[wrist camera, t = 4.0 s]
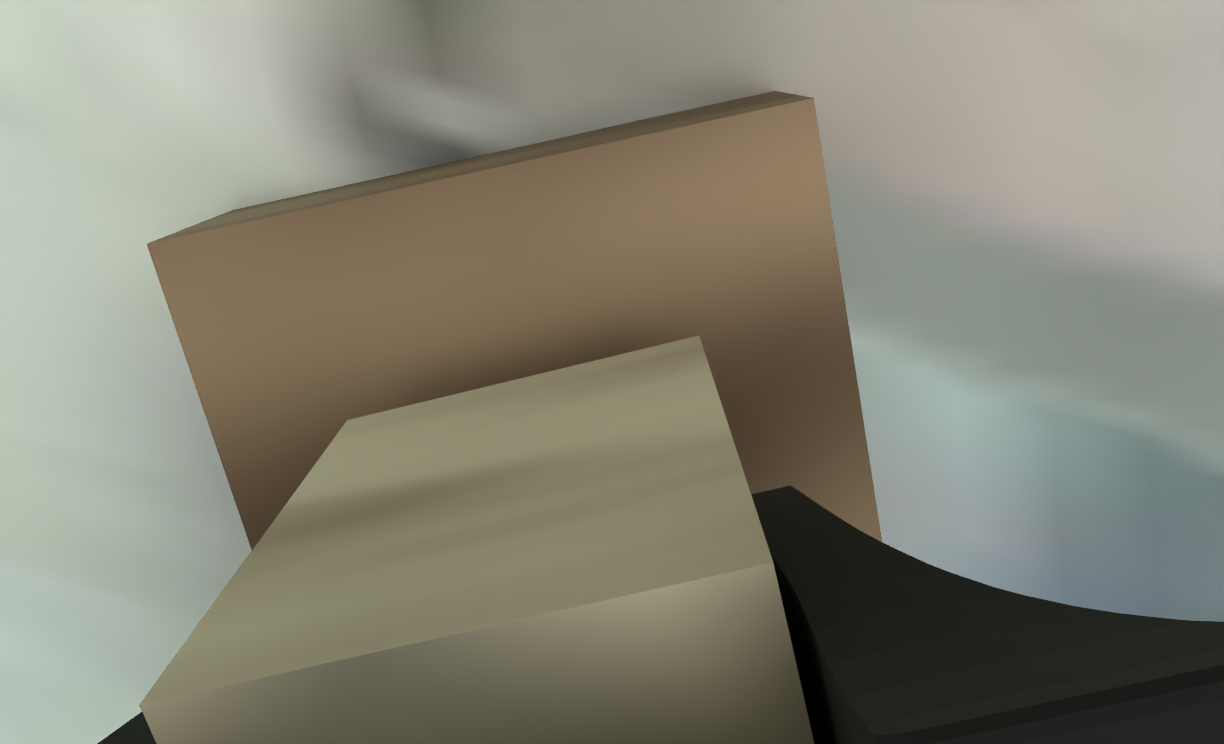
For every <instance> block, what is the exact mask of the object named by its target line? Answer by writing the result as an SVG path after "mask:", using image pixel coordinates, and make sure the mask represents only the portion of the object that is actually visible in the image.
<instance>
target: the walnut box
mask: <svg viewBox="0 0 1224 744" xmlns="http://www.w3.org/2000/svg"><path fill="white" fill-rule="evenodd" d="M147 246H148V249H149V252H150V255H151V258H152V261H153V264H154V266H155V269H156V272H157V275H158V278H159V281H160V284H161V287H162V290H163V293H164V296H165V298H166V301H167V304H168V307H169V310H170V313H171V316H172V319H173V322H174V325H175V328H176V331H177V333H178V336H179V339H180V342H181V345H182V348H183V351H184V354H185V357H186V360H187V363H188V365H189V368H190V371H191V374H192V377H193V380H194V383H195V386H196V389H197V392H198V395H199V397H200V400H201V403H202V406H203V409H204V412H205V415H206V418H207V421H208V424H209V427H210V429H211V432H212V435H213V438H214V441H215V444H216V447H217V450H218V453H219V456H220V459H221V461H222V464H223V467H224V470H225V473H226V476H227V479H228V482H229V485H230V488H231V491H232V493H233V496H234V499H235V502H236V505H237V508H238V511H239V514H240V517H241V520H242V523H243V525H244V528H245V531H246V534H247V537H248V540H249V543H250V546H251V549H252V550H253V549H254V547H255V546H256V545H257V543H258V542H259V540H260V539H261V538H262V536H263V535H264V534H265V532H266V531H267V529H268V528H269V527H270V525H271V524H272V523H273V521H274V520H275V518H276V517H277V516H278V514H279V513H280V512H281V510H282V509H283V508H284V506H285V505H286V503H287V502H288V501H289V499H290V498H291V497H292V495H293V494H294V492H295V491H296V490H297V488H298V487H299V486H300V484H301V483H302V481H303V480H304V479H305V477H306V476H307V475H308V473H309V472H310V470H311V469H312V468H313V466H314V465H315V464H316V462H317V461H318V460H319V458H320V457H321V455H322V454H323V453H324V451H325V450H326V449H327V447H328V446H329V444H330V443H331V442H332V440H333V439H334V438H335V436H336V435H337V433H338V432H339V431H340V429H341V428H342V427H343V425H344V424H345V422H346V421H347V420H350V419H354V418H358V417H362V416H367V415H371V414H375V413H379V412H383V411H387V410H392V409H396V408H400V407H404V406H408V405H412V404H416V403H421V402H425V401H429V400H433V399H437V398H441V397H445V396H450V395H454V394H458V393H462V392H466V391H470V390H475V389H479V388H483V387H487V386H491V385H495V384H499V383H504V382H508V381H512V380H516V379H520V378H524V377H529V376H533V375H537V374H541V373H545V372H549V371H553V370H558V369H562V368H566V367H570V366H574V365H578V364H583V363H587V362H591V361H595V360H599V359H603V358H607V357H612V356H616V355H620V354H624V353H628V352H632V351H637V350H641V349H645V348H649V347H653V346H657V345H661V344H666V343H670V342H674V341H678V340H682V339H686V338H690V337H695V336H700V339H701V342H702V345H703V349H704V352H705V355H706V358H707V361H708V364H709V367H710V370H711V373H712V376H713V379H714V382H715V385H716V388H717V391H718V395H719V398H720V401H721V404H722V407H723V410H724V413H725V416H726V419H727V422H728V425H729V428H730V431H731V434H732V437H733V441H734V444H735V447H736V450H737V453H738V456H739V459H740V462H741V465H742V468H743V471H744V474H745V477H746V480H747V483H748V486H749V490H750V493H751V494H755V493H759V492H764V491H768V490H772V489H777V488H781V487H785V486H790V485H791V486H792V487H794V488H795V489H797V490H798V491H800V492H801V493H803V494H805V495H806V496H808V497H809V498H811V499H812V500H813V501H815V502H816V503H818V504H819V505H821V506H822V507H824V508H825V509H827V510H828V511H830V512H831V513H833V514H834V515H836V516H837V517H839V518H841V519H842V520H844V521H845V522H847V523H849V524H850V525H852V526H853V527H855V528H857V529H859V530H860V531H862V532H864V533H866V534H867V535H869V536H871V537H873V538H875V539H877V540H879V541H881V542H882V540H881V533H880V527H879V520H878V514H877V507H876V501H875V494H874V488H873V481H872V475H871V468H870V462H869V455H868V449H867V442H866V436H865V429H864V423H863V416H862V410H861V403H860V397H859V390H858V384H857V377H856V371H855V364H854V358H853V352H852V345H851V339H850V332H849V326H848V319H847V313H846V306H845V300H844V293H843V287H842V280H841V274H840V267H839V261H838V254H837V248H836V241H835V236H834V228H833V222H832V215H831V209H830V202H829V196H828V189H827V183H826V176H825V170H824V163H823V157H822V150H821V144H820V137H819V131H818V124H817V118H816V111H815V105H814V98H811V97H805V96H799V95H794V94H788V93H782V92H777V91H773V92H769V93H764V94H760V95H755V96H751V97H746V98H742V99H737V100H732V101H728V102H723V103H719V104H714V105H710V106H705V107H701V108H696V109H691V110H687V111H682V112H678V113H673V114H669V115H664V116H660V117H655V118H651V119H646V120H641V121H637V122H632V123H628V124H623V125H619V126H614V127H610V128H605V129H601V130H596V131H591V132H587V133H582V134H578V135H573V136H569V137H564V138H560V139H555V140H550V141H546V142H541V143H537V144H532V145H528V146H523V147H519V148H514V149H510V150H505V151H500V152H496V153H491V154H487V155H482V156H478V157H473V158H469V159H464V160H460V161H455V162H450V163H446V164H441V165H437V166H432V167H428V168H423V169H419V170H414V171H409V172H405V173H400V174H396V175H391V176H387V177H382V178H378V179H373V180H369V181H364V182H359V183H355V184H350V185H346V186H341V187H337V188H332V189H328V190H323V191H318V192H314V193H309V194H305V195H300V196H296V197H291V198H287V199H282V200H278V201H273V202H268V203H264V204H259V205H255V206H250V207H246V208H241V209H237V210H232V211H230V212H227V213H224V214H222V215H219V216H217V217H214V218H212V219H209V220H207V221H204V222H201V223H199V224H196V225H194V226H191V227H189V228H186V229H184V230H181V231H179V232H176V233H173V234H171V235H168V236H166V237H163V238H161V239H158V240H156V241H153V242H150V243H148V244H147Z"/></svg>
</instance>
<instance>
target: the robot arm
mask: <svg viewBox="0 0 1224 744" xmlns="http://www.w3.org/2000/svg"><path fill="white" fill-rule="evenodd" d="M751 496H752V499H753V502H754V505H755V508H756V511H757V514H758V517H759V520H760V523H761V526H762V529H763V532H764V536H765V539H766V542H767V545H768V548H769V551H770V554H771V557H772V560H773V563H774V568H775V572H776V577H777V581H778V585H779V590H780V594H781V599H782V603H783V607H784V612H785V616H786V621H787V625H788V630H789V634H790V638H791V643H792V647H793V652H794V656H795V660H796V665H797V669H798V674H799V678H800V683H801V687H802V691H803V696H804V700H805V705H806V709H807V713H808V718H809V722H810V727H811V731H812V735H813V740H814V744H1224V622H1212V621H1187V620H1175V619H1166V618H1157V617H1147V616H1138V615H1129V614H1120V613H1113V612H1106V611H1100V610H1094V609H1087V608H1081V607H1075V606H1071V605H1066V604H1061V603H1057V602H1052V601H1048V600H1043V599H1038V598H1034V597H1029V596H1025V595H1020V594H1017V593H1013V592H1009V591H1006V590H1002V589H998V588H995V587H991V586H988V585H986V584H983V583H980V582H977V581H974V580H971V579H968V578H965V577H962V576H959V575H956V574H953V573H950V572H947V571H944V570H942V569H939V568H937V567H934V566H932V565H929V564H927V563H925V562H922V561H920V560H918V559H916V558H914V557H912V556H909V555H907V554H905V553H903V552H901V551H899V550H897V549H894V548H892V547H890V546H888V545H886V544H884V543H882V542H881V541H879V540H877V539H875V538H873V537H871V536H869V535H867V534H866V533H864V532H862V531H860V530H859V529H857V528H855V527H853V526H852V525H850V524H849V523H847V522H845V521H844V520H842V519H841V518H839V517H837V516H836V515H834V514H833V513H831V512H830V511H828V510H827V509H825V508H824V507H822V506H821V505H819V504H818V503H816V502H815V501H813V500H812V499H811V498H809V497H808V496H806V495H805V494H803V493H801V492H800V491H798V490H797V489H795V488H794V487H792V486H791V485H790V486H785V487H781V488H777V489H772V490H768V491H764V492H759V493H755V494H751ZM98 744H156V742H155V739H154V737H153V735H152V732H151V730H150V728H149V726H148V723H147V721H146V719H145V716H144V714H143V712H141V713H140V714H138V715H137V716H135V717H134V718H133V719H131V720H130V721H128V722H127V723H126V724H124V725H123V726H122V727H120V728H119V729H117V730H116V731H115V732H113V733H112V734H110V735H109V736H108V737H106V738H105V739H103V740H102V741H101V742H99V743H98Z"/></svg>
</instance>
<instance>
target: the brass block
mask: <svg viewBox="0 0 1224 744" xmlns="http://www.w3.org/2000/svg"><path fill="white" fill-rule="evenodd" d="M140 707H141V710H142V712H143V714H144V716H145V719H146V721H147V723H148V726H149V728H150V730H151V732H152V735H153V737H154V739H155V742H156V744H814V740H813V735H812V731H811V727H810V722H809V718H808V713H807V709H806V705H805V700H804V696H803V691H802V687H801V683H800V678H799V674H798V669H797V665H796V660H795V656H794V652H793V647H792V643H791V638H790V634H789V630H788V625H787V621H786V616H785V612H784V607H783V603H782V599H781V594H780V590H779V585H778V581H777V577H776V572H775V568H774V563H773V560H772V557H771V554H770V551H769V548H768V545H767V542H766V539H765V536H764V532H763V529H762V526H761V523H760V520H759V517H758V514H757V511H756V508H755V505H754V502H753V499H752V496H751V493H750V490H749V486H748V483H747V480H746V477H745V474H744V471H743V468H742V465H741V462H740V459H739V456H738V453H737V450H736V447H735V444H734V441H733V437H732V434H731V431H730V428H729V425H728V422H727V419H726V416H725V413H724V410H723V407H722V404H721V401H720V398H719V395H718V391H717V388H716V385H715V382H714V379H713V376H712V373H711V370H710V367H709V364H708V361H707V358H706V355H705V352H704V349H703V345H702V342H701V339H700V336H695V337H690V338H686V339H682V340H678V341H674V342H670V343H666V344H661V345H657V346H653V347H649V348H645V349H641V350H637V351H632V352H628V353H624V354H620V355H616V356H612V357H607V358H603V359H599V360H595V361H591V362H587V363H583V364H578V365H574V366H570V367H566V368H562V369H558V370H553V371H549V372H545V373H541V374H537V375H533V376H529V377H524V378H520V379H516V380H512V381H508V382H504V383H499V384H495V385H491V386H487V387H483V388H479V389H475V390H470V391H466V392H462V393H458V394H454V395H450V396H445V397H441V398H437V399H433V400H429V401H425V402H421V403H416V404H412V405H408V406H404V407H400V408H396V409H392V410H387V411H383V412H379V413H375V414H371V415H367V416H362V417H358V418H354V419H350V420H347V421H346V422H345V424H344V425H343V427H342V428H341V429H340V431H339V432H338V433H337V435H336V436H335V438H334V439H333V440H332V442H331V443H330V444H329V446H328V447H327V449H326V450H325V451H324V453H323V454H322V455H321V457H320V458H319V460H318V461H317V462H316V464H315V465H314V466H313V468H312V469H311V470H310V472H309V473H308V475H307V476H306V477H305V479H304V480H303V481H302V483H301V484H300V486H299V487H298V488H297V490H296V491H295V492H294V494H293V495H292V497H291V498H290V499H289V501H288V502H287V503H286V505H285V506H284V508H283V509H282V510H281V512H280V513H279V514H278V516H277V517H276V518H275V520H274V521H273V523H272V524H271V525H270V527H269V528H268V529H267V531H266V532H265V534H264V535H263V536H262V538H261V539H260V540H259V542H258V543H257V545H256V546H255V547H254V549H253V550H252V551H251V553H250V554H249V556H248V557H247V558H246V560H245V561H244V562H243V564H242V565H241V566H240V568H239V569H238V571H237V572H236V573H235V575H234V576H233V577H232V579H231V580H230V582H229V583H228V584H227V586H226V587H225V588H224V590H223V591H222V593H221V594H220V595H219V597H218V598H217V599H216V601H215V602H214V604H213V605H212V606H211V608H210V609H209V610H208V612H207V613H206V615H205V616H204V617H203V619H202V620H201V621H200V623H199V624H198V625H197V627H196V628H195V630H194V631H193V632H192V634H191V635H190V636H189V638H188V639H187V641H186V642H185V643H184V645H183V646H182V647H181V649H180V650H179V652H178V653H177V654H176V656H175V657H174V658H173V660H172V661H171V663H170V664H169V665H168V667H167V668H166V669H165V671H164V672H163V673H162V675H161V676H160V678H159V679H158V680H157V682H156V683H155V684H154V686H153V687H152V689H151V690H150V691H149V693H148V694H147V695H146V697H145V698H144V700H143V701H142V702H141V704H140Z"/></svg>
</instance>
